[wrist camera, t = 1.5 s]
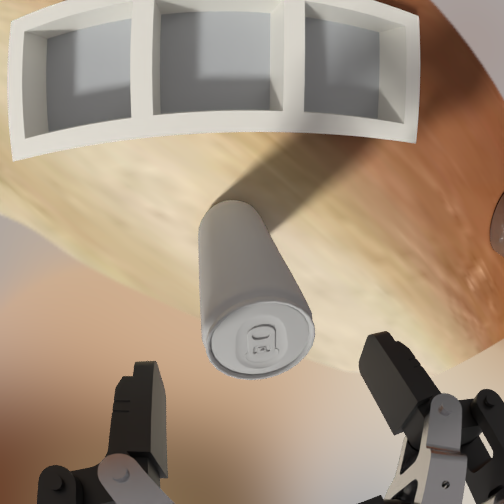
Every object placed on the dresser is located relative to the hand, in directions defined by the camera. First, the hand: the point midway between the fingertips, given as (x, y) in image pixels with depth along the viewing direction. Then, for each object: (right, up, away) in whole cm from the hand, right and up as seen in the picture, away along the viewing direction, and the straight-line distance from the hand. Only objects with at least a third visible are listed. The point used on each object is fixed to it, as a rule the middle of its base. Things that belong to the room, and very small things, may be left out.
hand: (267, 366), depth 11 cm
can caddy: (-3, +17, +6) cm, 18 cm away
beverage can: (-2, +6, +12) cm, 14 cm away
